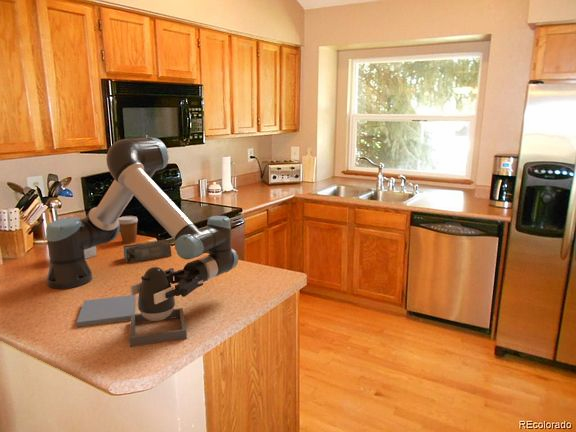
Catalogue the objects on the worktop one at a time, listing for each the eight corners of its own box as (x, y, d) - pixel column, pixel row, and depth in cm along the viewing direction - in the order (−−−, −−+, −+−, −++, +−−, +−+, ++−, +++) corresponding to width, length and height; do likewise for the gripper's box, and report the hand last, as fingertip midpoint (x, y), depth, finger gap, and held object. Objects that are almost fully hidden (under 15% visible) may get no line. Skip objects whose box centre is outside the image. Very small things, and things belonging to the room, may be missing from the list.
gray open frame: (130, 346, 118) (129, 338, 117) (132, 322, 132) (131, 314, 131) (186, 338, 122) (186, 330, 122) (182, 315, 136) (182, 307, 136)
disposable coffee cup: (135, 244, 209) (133, 220, 206) (116, 244, 209) (113, 220, 206) (142, 238, 218) (140, 215, 216) (123, 238, 218) (121, 215, 216)
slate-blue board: (77, 327, 129) (76, 322, 128) (84, 304, 144) (84, 300, 143) (134, 319, 133) (133, 315, 133) (135, 298, 148) (135, 294, 148)
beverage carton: (123, 258, 190) (122, 244, 188) (167, 251, 199) (166, 237, 198) (127, 263, 183) (125, 248, 182) (172, 256, 192) (171, 242, 191)
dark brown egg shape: (130, 321, 123) (126, 271, 119) (154, 306, 133) (151, 259, 129) (160, 328, 120) (157, 276, 116) (182, 312, 129) (180, 264, 125)
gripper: (226, 289, 134) (171, 317, 115) (176, 274, 145) (118, 298, 127) (226, 266, 132) (169, 291, 114) (175, 253, 144) (116, 274, 125)
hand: (142, 295), depth 120 cm, fingers closed on dark brown egg shape, 9 cm apart
